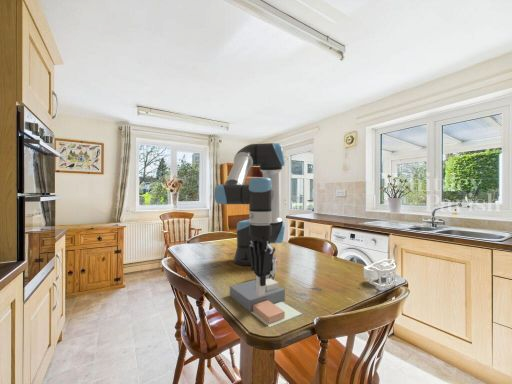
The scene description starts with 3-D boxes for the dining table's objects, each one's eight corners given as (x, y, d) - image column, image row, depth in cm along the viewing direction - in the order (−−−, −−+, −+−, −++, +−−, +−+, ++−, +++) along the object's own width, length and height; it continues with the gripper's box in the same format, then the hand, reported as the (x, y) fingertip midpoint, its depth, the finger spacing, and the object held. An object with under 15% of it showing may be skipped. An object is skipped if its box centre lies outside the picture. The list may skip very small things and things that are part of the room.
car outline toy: (381, 272, 115) (381, 257, 115) (406, 278, 106) (406, 262, 106) (359, 281, 103) (359, 264, 103) (385, 290, 94) (385, 271, 94)
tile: (252, 310, 77) (252, 304, 77) (267, 306, 80) (267, 300, 80) (268, 323, 69) (268, 317, 69) (284, 317, 73) (284, 311, 73)
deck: (230, 296, 88) (229, 286, 88) (262, 287, 97) (262, 277, 97) (250, 312, 77) (250, 300, 77) (284, 300, 85) (284, 289, 85)
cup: (271, 285, 99) (271, 261, 99) (255, 281, 103) (254, 258, 103) (279, 279, 106) (279, 257, 106) (264, 275, 110) (264, 254, 110)
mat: (250, 313, 76) (250, 312, 76) (281, 302, 84) (281, 301, 84) (269, 328, 68) (269, 326, 68) (301, 314, 75) (301, 313, 75)
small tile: (259, 286, 88) (259, 281, 88) (270, 283, 91) (270, 278, 91) (267, 291, 84) (267, 285, 84) (278, 287, 87) (278, 282, 87)
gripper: (240, 222, 82) (241, 290, 82) (262, 227, 71) (263, 305, 71) (258, 220, 86) (258, 285, 86) (281, 225, 75) (282, 298, 75)
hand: (260, 294), depth 79 cm, fingers closed
